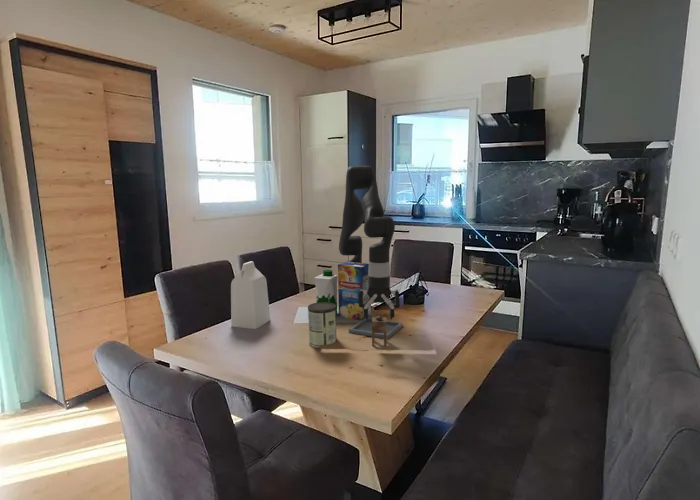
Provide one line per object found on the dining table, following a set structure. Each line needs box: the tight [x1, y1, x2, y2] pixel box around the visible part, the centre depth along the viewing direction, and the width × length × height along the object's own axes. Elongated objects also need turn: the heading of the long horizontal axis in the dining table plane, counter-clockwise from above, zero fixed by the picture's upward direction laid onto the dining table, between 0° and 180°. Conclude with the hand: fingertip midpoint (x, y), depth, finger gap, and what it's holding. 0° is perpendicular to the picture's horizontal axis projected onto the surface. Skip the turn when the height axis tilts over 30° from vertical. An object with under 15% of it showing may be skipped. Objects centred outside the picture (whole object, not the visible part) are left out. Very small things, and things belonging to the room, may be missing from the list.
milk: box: [230, 260, 271, 330], centre depth 177 cm, size 12×12×26 cm
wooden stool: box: [371, 315, 387, 347], centre depth 151 cm, size 5×5×11 cm
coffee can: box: [307, 302, 337, 349], centre depth 154 cm, size 10×10×14 cm
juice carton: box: [337, 261, 372, 321], centre depth 181 cm, size 12×8×24 cm, turn 60°
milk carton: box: [314, 269, 338, 314], centre depth 185 cm, size 9×9×20 cm
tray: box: [348, 317, 404, 340], centre depth 166 cm, size 16×16×2 cm
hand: (379, 318), depth 150 cm, fingers open, 8 cm apart
